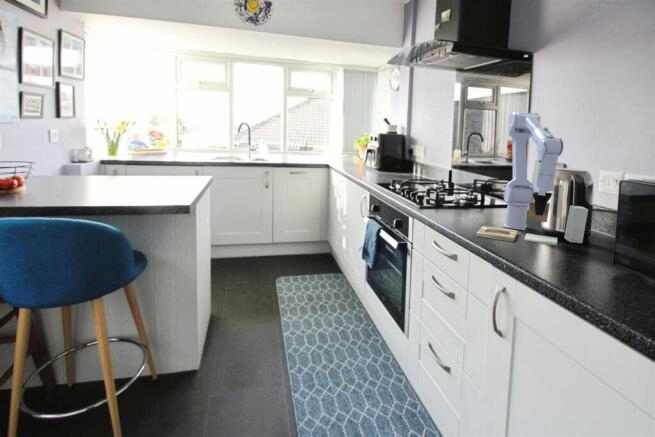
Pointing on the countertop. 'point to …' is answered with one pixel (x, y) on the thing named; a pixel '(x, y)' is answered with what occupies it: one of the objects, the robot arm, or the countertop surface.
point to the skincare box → (576, 224)
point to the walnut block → (535, 217)
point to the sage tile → (541, 239)
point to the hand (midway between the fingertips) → (539, 213)
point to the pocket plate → (486, 232)
